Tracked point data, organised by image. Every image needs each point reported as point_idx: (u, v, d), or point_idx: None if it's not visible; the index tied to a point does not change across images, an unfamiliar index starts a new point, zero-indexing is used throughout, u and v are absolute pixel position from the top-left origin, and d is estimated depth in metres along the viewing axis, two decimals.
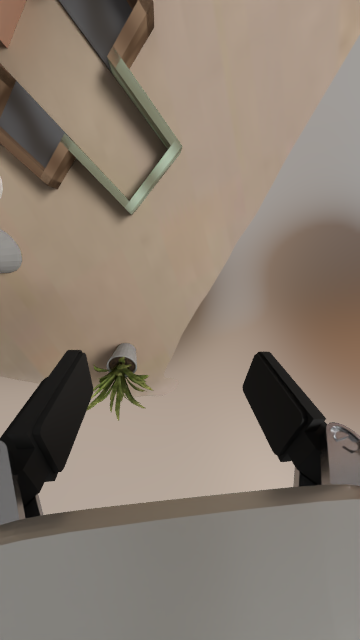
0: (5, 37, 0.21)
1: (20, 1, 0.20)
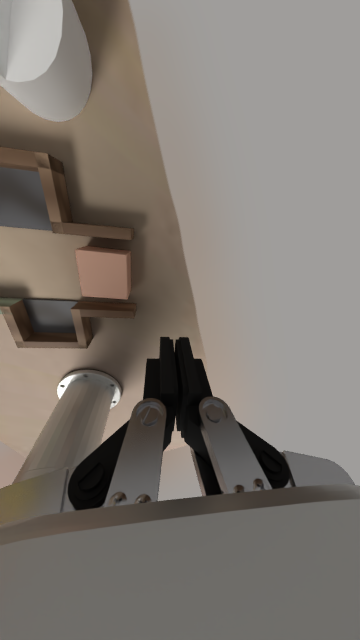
0: None
1: None
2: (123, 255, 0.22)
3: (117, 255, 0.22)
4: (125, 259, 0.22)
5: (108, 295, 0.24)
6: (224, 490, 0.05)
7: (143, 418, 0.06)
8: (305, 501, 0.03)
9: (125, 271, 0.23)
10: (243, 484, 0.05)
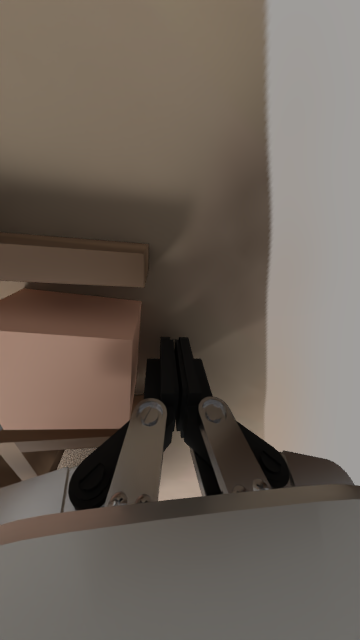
0: None
1: None
2: (123, 340, 0.07)
3: (103, 341, 0.07)
4: (129, 350, 0.07)
5: (78, 424, 0.09)
6: (224, 490, 0.05)
7: (144, 418, 0.06)
8: (305, 501, 0.03)
9: (127, 377, 0.08)
10: (242, 484, 0.05)
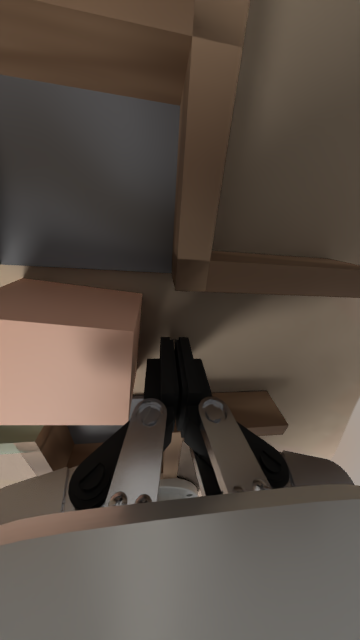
0: None
1: None
2: (124, 331, 0.07)
3: (103, 332, 0.06)
4: (129, 342, 0.07)
5: (75, 420, 0.09)
6: (224, 490, 0.05)
7: (144, 418, 0.06)
8: (305, 501, 0.03)
9: (127, 371, 0.07)
10: (242, 484, 0.05)
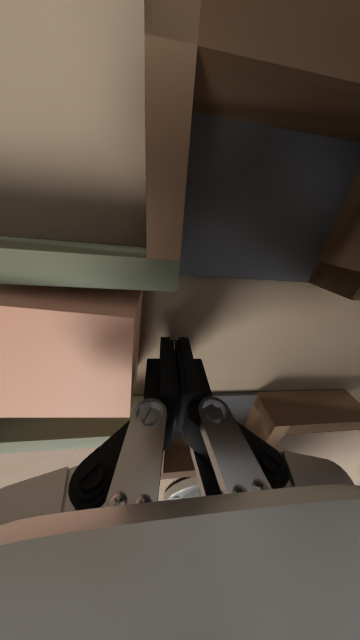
0: None
1: None
2: (124, 318, 0.06)
3: (103, 319, 0.06)
4: (130, 329, 0.07)
5: (77, 412, 0.09)
6: (224, 490, 0.05)
7: (144, 418, 0.06)
8: (305, 501, 0.03)
9: (128, 360, 0.07)
10: (242, 484, 0.05)
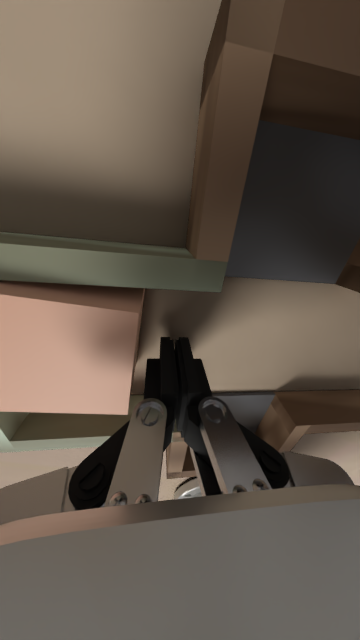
0: None
1: None
2: (128, 313, 0.06)
3: (107, 313, 0.06)
4: (134, 325, 0.07)
5: (73, 408, 0.08)
6: (224, 490, 0.05)
7: (144, 418, 0.06)
8: (305, 501, 0.03)
9: (130, 356, 0.07)
10: (242, 484, 0.05)
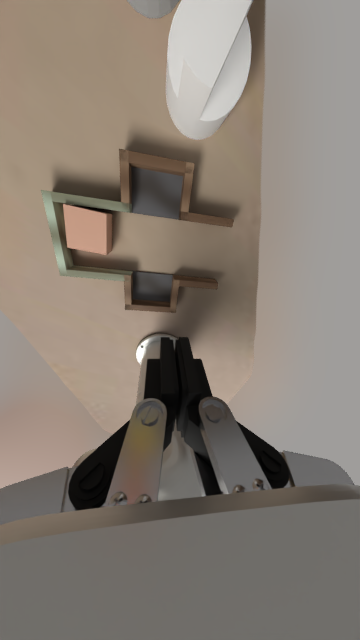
0: None
1: None
2: (104, 214, 0.26)
3: (98, 213, 0.26)
4: (105, 217, 0.27)
5: (90, 249, 0.29)
6: (224, 490, 0.05)
7: (144, 418, 0.06)
8: (305, 501, 0.03)
9: (105, 228, 0.27)
10: (242, 484, 0.05)
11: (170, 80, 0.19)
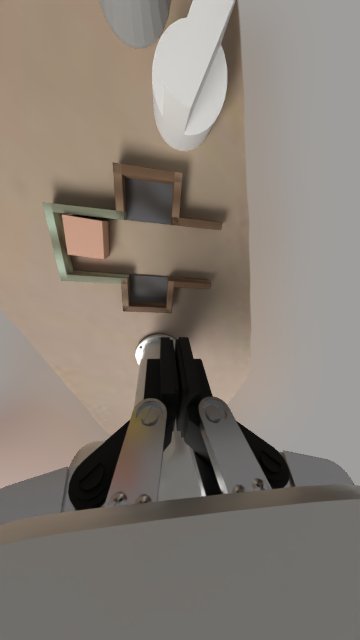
0: None
1: None
2: (99, 221, 0.28)
3: (95, 221, 0.28)
4: (101, 224, 0.29)
5: (88, 255, 0.31)
6: (224, 490, 0.05)
7: (144, 418, 0.06)
8: (305, 501, 0.03)
9: (101, 234, 0.29)
10: (242, 484, 0.05)
11: (156, 101, 0.21)
